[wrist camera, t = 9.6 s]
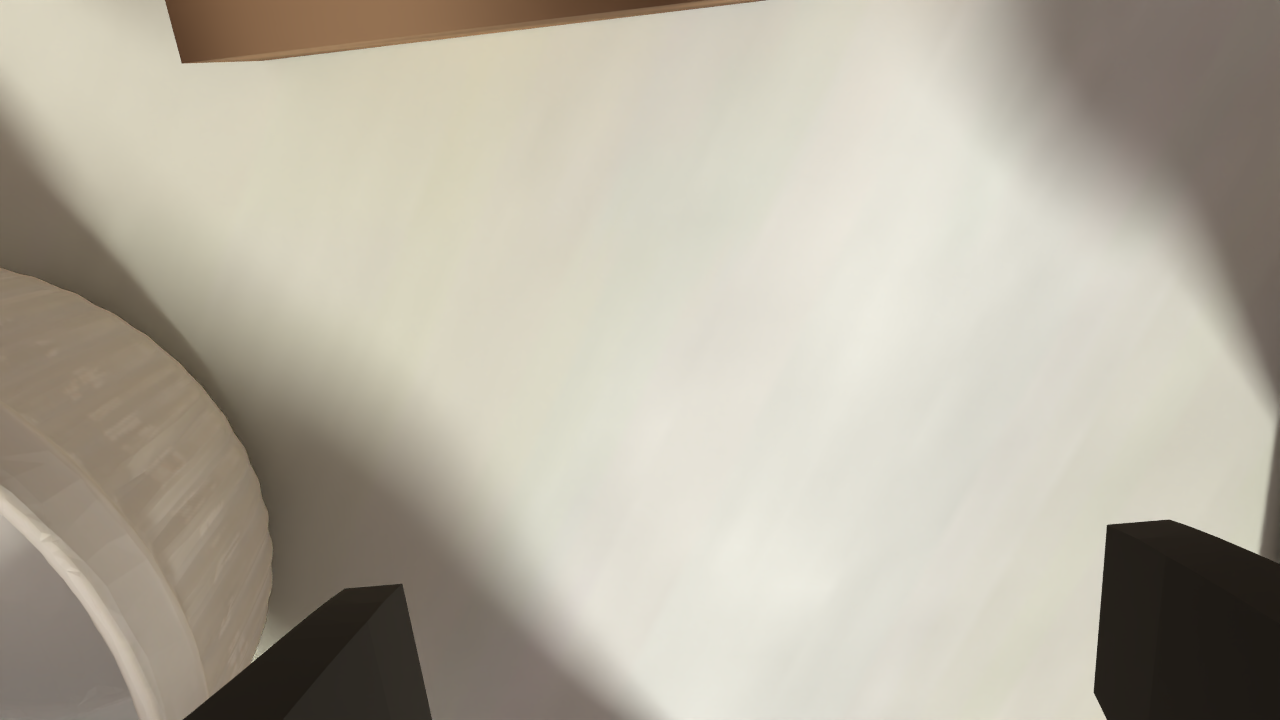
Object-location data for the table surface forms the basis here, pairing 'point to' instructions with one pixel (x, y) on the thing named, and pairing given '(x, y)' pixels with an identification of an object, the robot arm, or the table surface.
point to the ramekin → (117, 521)
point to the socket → (374, 22)
